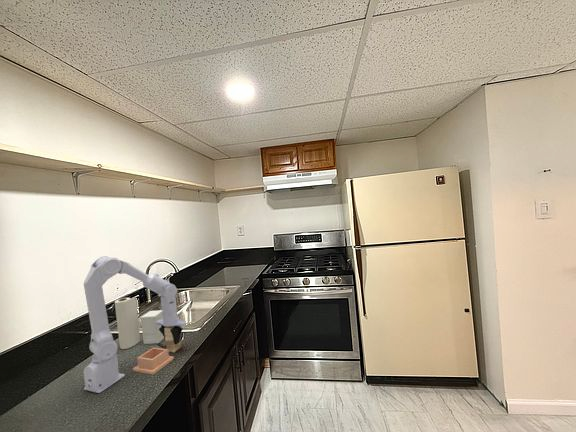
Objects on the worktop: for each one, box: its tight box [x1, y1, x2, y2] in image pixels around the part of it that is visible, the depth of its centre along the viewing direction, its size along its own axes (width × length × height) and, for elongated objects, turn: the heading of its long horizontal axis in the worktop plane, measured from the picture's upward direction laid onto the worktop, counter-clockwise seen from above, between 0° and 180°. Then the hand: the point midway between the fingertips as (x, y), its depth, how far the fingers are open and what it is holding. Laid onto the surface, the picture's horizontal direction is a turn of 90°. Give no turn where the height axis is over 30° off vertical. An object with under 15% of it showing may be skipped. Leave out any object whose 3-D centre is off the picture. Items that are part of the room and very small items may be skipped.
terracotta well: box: [132, 347, 175, 376], centre depth 103 cm, size 10×10×4 cm
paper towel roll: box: [114, 296, 142, 350], centre depth 120 cm, size 7×6×21 cm
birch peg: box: [164, 326, 182, 353], centre depth 113 cm, size 4×4×10 cm
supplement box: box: [140, 309, 165, 345], centre depth 124 cm, size 7×7×13 cm
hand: (173, 342), depth 113 cm, fingers closed on birch peg, 4 cm apart
